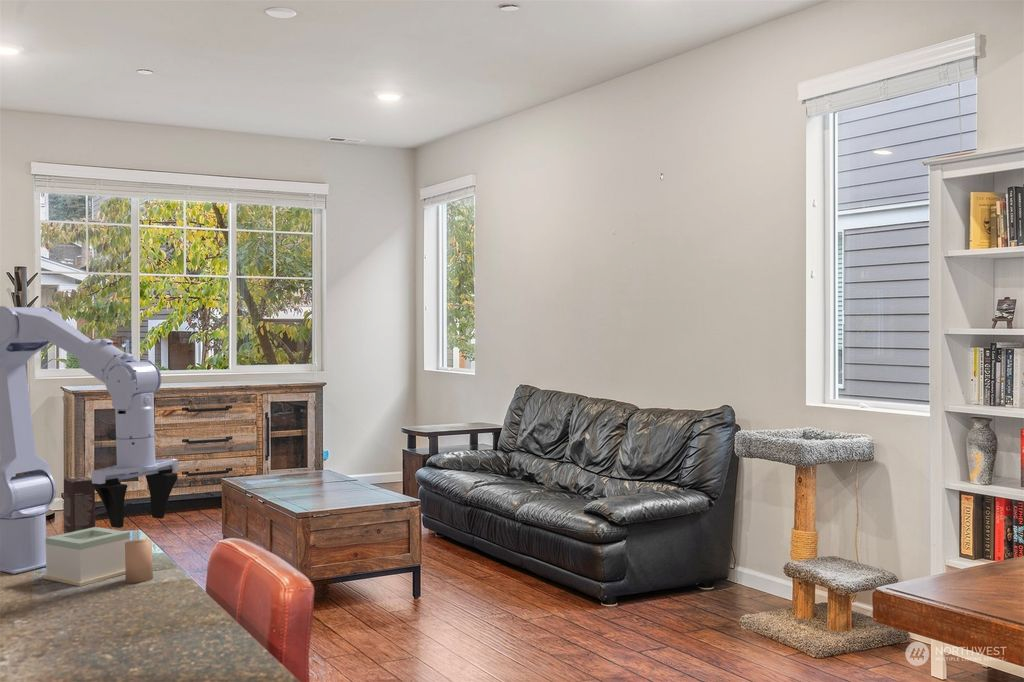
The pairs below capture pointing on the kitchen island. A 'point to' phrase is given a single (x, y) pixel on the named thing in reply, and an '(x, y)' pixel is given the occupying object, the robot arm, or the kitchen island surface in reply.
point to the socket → (86, 556)
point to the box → (78, 504)
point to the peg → (138, 560)
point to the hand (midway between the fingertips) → (138, 522)
